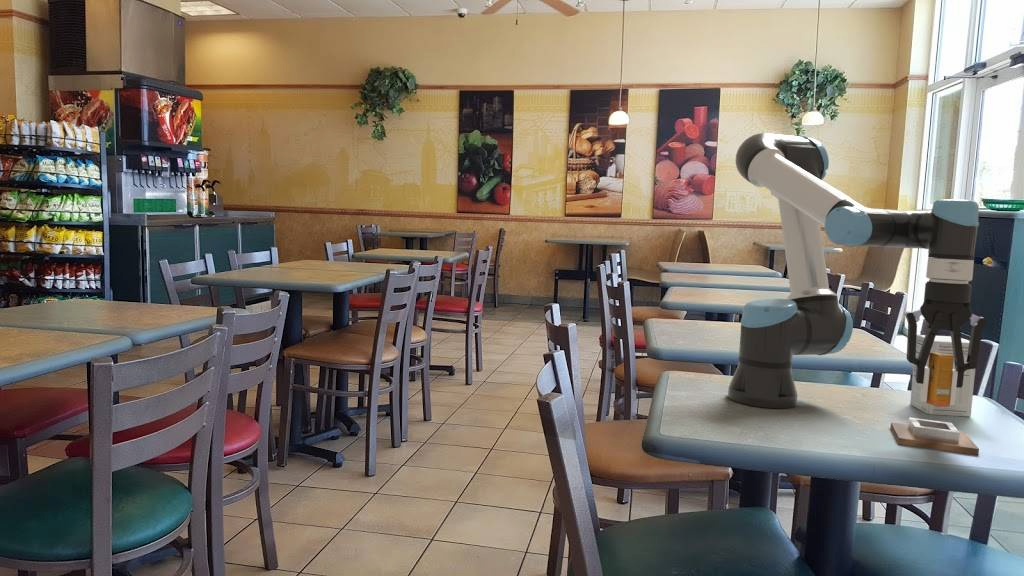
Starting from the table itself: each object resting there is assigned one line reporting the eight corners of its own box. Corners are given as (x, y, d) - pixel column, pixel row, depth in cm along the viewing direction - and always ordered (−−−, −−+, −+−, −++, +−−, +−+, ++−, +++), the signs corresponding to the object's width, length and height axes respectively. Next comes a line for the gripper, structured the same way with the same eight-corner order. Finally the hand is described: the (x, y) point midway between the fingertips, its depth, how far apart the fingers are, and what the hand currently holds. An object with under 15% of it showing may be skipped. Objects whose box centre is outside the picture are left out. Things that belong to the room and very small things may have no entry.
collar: (913, 436, 135) (914, 426, 135) (908, 427, 142) (909, 417, 141) (958, 443, 132) (959, 432, 132) (950, 432, 139) (951, 422, 139)
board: (898, 444, 134) (899, 437, 134) (890, 427, 145) (891, 422, 145) (978, 455, 129) (979, 448, 129) (963, 437, 140) (964, 431, 140)
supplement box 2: (951, 407, 134) (955, 355, 134) (933, 406, 134) (937, 355, 134) (941, 402, 138) (944, 352, 137) (923, 402, 138) (927, 352, 137)
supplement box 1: (950, 406, 166) (958, 336, 164) (972, 417, 157) (980, 342, 155) (908, 404, 167) (915, 333, 165) (927, 414, 157) (934, 340, 156)
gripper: (900, 279, 134) (889, 400, 136) (1007, 285, 127) (993, 412, 129) (895, 277, 141) (885, 392, 143) (996, 283, 134) (983, 403, 136)
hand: (936, 401), depth 136 cm, fingers closed on supplement box 2, 4 cm apart
